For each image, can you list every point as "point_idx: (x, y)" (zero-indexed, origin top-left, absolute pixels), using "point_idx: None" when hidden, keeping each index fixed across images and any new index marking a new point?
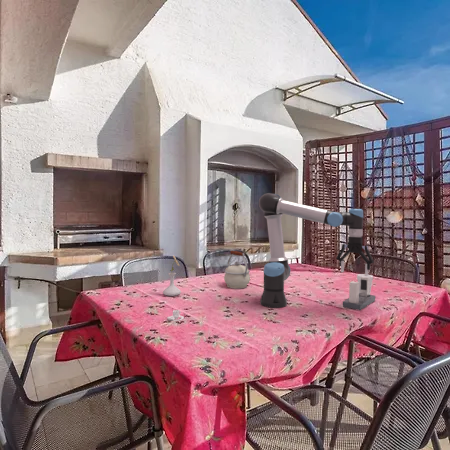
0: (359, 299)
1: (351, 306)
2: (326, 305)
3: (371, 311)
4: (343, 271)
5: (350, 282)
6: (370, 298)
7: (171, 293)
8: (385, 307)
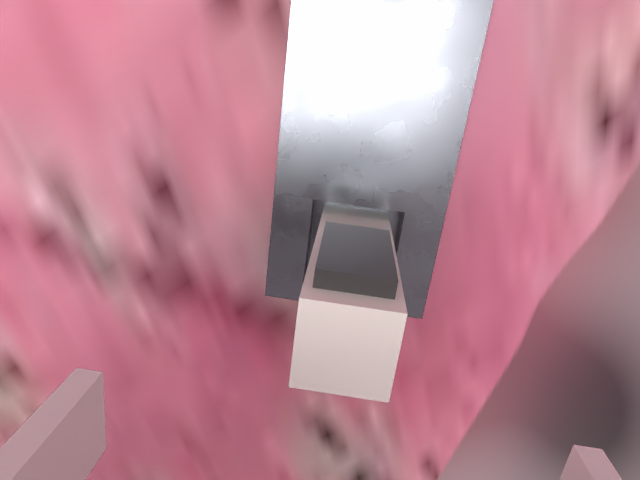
0: (382, 134)
1: None
2: (162, 304)
3: (499, 280)
4: (98, 396)
5: (297, 376)
6: (486, 12)
7: None
8: (620, 82)
